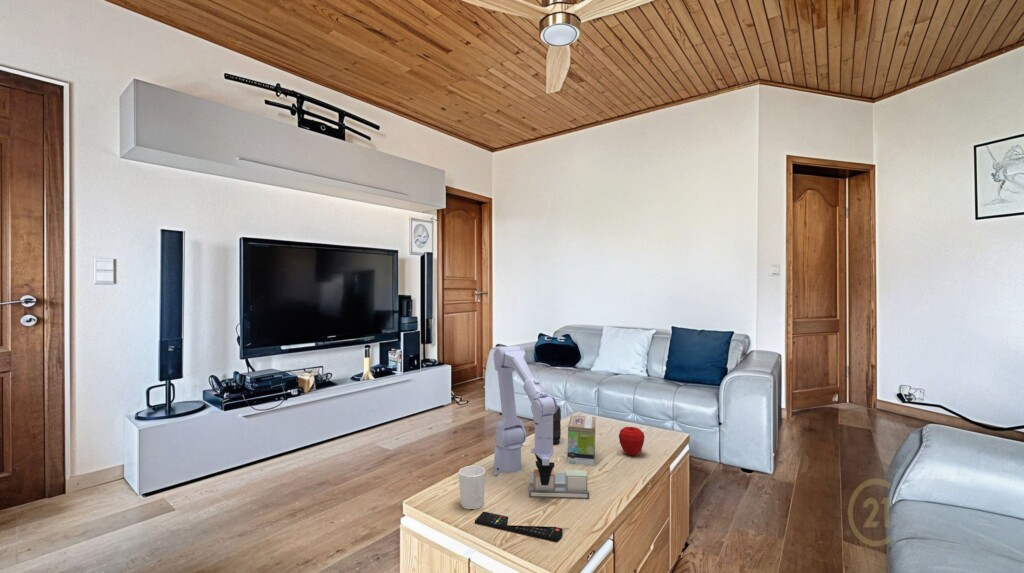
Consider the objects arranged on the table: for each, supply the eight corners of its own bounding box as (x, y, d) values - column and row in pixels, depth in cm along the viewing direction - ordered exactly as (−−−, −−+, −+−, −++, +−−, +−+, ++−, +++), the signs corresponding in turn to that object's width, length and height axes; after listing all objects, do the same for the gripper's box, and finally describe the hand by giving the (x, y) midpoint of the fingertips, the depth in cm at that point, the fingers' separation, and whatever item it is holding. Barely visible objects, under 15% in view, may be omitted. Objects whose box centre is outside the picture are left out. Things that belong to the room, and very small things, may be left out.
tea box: (595, 469, 155) (595, 427, 155) (566, 467, 157) (566, 426, 157) (595, 453, 170) (595, 415, 170) (569, 451, 172) (569, 414, 172)
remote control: (483, 516, 124) (483, 511, 124) (564, 534, 115) (564, 528, 115) (474, 525, 119) (474, 520, 119) (558, 544, 110) (558, 539, 110)
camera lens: (537, 443, 181) (537, 407, 181) (547, 437, 188) (547, 403, 188) (554, 447, 177) (554, 410, 177) (564, 441, 183) (564, 405, 183)
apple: (647, 459, 164) (647, 430, 164) (622, 458, 165) (622, 430, 165) (640, 449, 174) (640, 422, 174) (616, 449, 174) (616, 422, 174)
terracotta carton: (534, 494, 134) (534, 474, 134) (533, 488, 138) (533, 469, 138) (555, 494, 134) (555, 474, 134) (553, 488, 138) (553, 469, 138)
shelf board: (529, 501, 132) (529, 491, 132) (530, 475, 150) (530, 467, 150) (589, 503, 131) (589, 493, 131) (583, 476, 149) (583, 468, 149)
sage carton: (566, 495, 133) (566, 475, 133) (565, 489, 137) (565, 470, 137) (587, 495, 133) (587, 476, 133) (586, 489, 137) (586, 470, 137)
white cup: (474, 513, 125) (474, 478, 125) (453, 506, 129) (453, 472, 129) (490, 502, 131) (490, 469, 131) (469, 495, 135) (469, 463, 136)
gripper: (529, 428, 143) (529, 469, 143) (532, 444, 128) (532, 490, 128) (551, 428, 143) (551, 469, 143) (556, 444, 129) (556, 490, 129)
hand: (543, 479), depth 136 cm, fingers open, 7 cm apart
